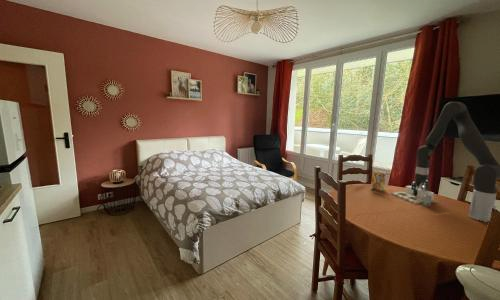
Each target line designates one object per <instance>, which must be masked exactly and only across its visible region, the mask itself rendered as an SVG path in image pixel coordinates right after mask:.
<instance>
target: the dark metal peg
mask: <svg viewBox="0 0 500 300" xmlns="http://www.w3.org/2000/svg"><path fill="white" fill-rule="evenodd" d="M431 198H432V196H430V195H424V198H423V203H422V206H423V207H426V208H430V207H431Z"/></svg>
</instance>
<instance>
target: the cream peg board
mask: <svg viewBox="0 0 500 300" xmlns="http://www.w3.org/2000/svg"><path fill="white" fill-rule="evenodd" d="M390 194H391V195H392V196H393V197H396V198H398V199H402V200H404V201H405V202H408V203H411V204H413V205H417V204H423V199H421V198H418V197H415V196H413V195H410V194H407V193H405V191H395V192H393V191H392V192H391V193H390Z"/></svg>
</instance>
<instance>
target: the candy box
mask: <svg viewBox="0 0 500 300" xmlns="http://www.w3.org/2000/svg"><path fill="white" fill-rule="evenodd" d="M386 178H387V172H384V171H381V170H379V171H378V170H373V171H372V173H371V184H370V190H372V189H373V190H379V191H384V190H385V185H386Z"/></svg>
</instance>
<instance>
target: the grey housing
mask: <svg viewBox="0 0 500 300" xmlns="http://www.w3.org/2000/svg"><path fill="white" fill-rule="evenodd" d="M411 186H412V185H405V189H404V192H405V193H407V194H410V195H413V192H414V190H412V189H411ZM413 188H414V187H413ZM416 189H417V188H416ZM424 195H430V196H432V198H431V201H434V200H433V199H434V197H435V196H434V195H435V192H432V191H429V190H428V189H425V190H424V189H421V187H420V188H419V189H418V191H417V196H415V195H413V196H415V197H418V198H421V199H423V198H424Z"/></svg>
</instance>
